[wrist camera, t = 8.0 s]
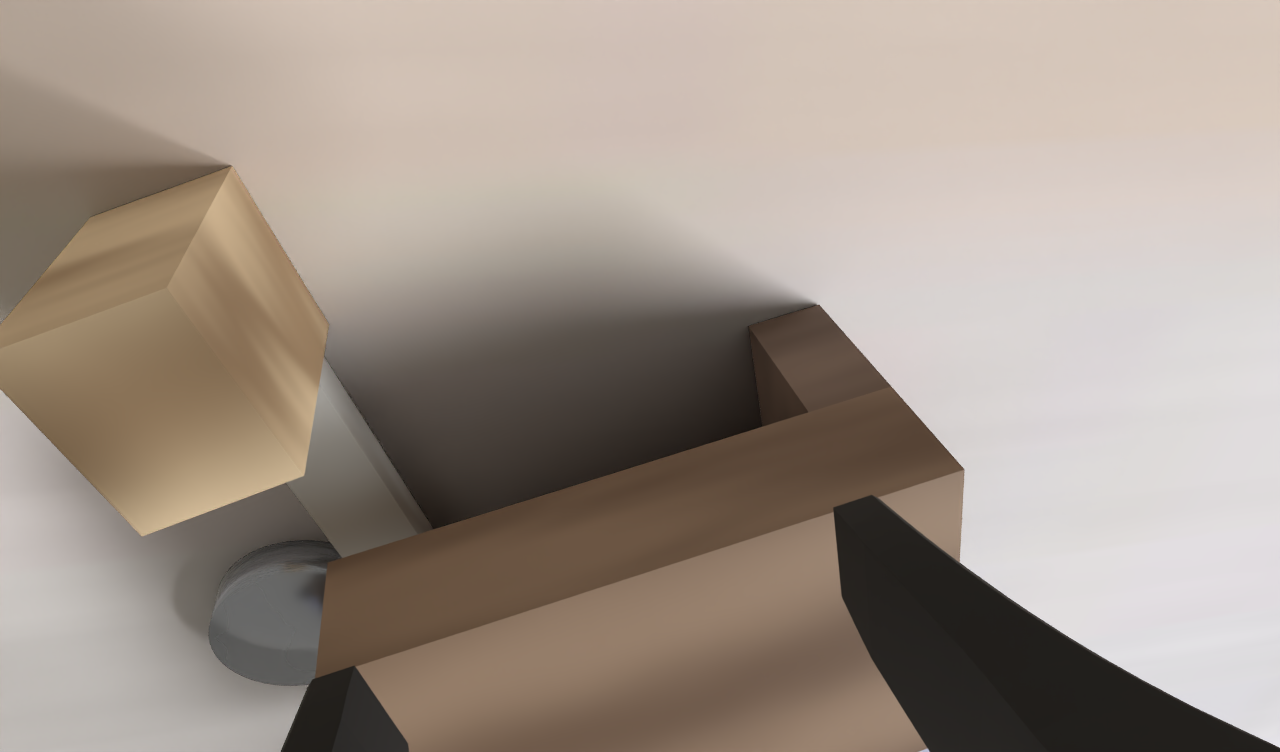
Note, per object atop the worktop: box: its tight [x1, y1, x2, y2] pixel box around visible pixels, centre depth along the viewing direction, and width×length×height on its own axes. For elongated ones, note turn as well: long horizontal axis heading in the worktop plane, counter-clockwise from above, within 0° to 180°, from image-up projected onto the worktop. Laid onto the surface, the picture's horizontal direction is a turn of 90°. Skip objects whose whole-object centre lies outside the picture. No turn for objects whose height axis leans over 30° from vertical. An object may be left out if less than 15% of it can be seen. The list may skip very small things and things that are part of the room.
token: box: [209, 540, 342, 686], centre depth 23 cm, size 4×4×2 cm
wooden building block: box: [0, 166, 434, 558], centre depth 19 cm, size 15×3×6 cm, turn 16°
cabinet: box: [315, 305, 964, 752], centre depth 21 cm, size 10×13×7 cm
